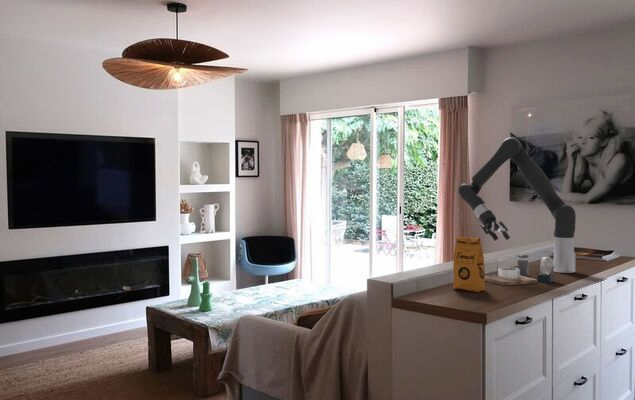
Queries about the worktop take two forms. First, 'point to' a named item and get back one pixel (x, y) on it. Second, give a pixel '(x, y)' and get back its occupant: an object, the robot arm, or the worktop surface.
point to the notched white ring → (509, 273)
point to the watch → (546, 270)
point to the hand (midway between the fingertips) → (502, 239)
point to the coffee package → (469, 264)
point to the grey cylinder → (522, 264)
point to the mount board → (510, 282)
